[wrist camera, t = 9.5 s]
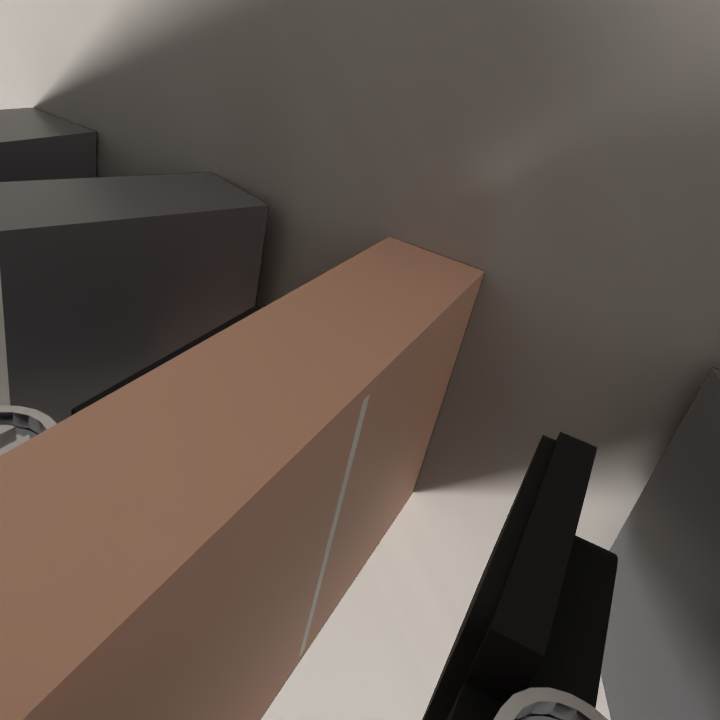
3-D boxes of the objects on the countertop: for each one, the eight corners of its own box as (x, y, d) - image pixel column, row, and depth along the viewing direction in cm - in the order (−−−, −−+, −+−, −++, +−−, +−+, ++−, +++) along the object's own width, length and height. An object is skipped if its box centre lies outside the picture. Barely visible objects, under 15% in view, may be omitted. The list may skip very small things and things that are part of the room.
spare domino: (485, 271, 11) (7, 735, 3) (412, 493, 13) (41, 1047, 6) (388, 236, 12) (-211, 574, 4) (336, 456, 14) (-94, 920, 6)
